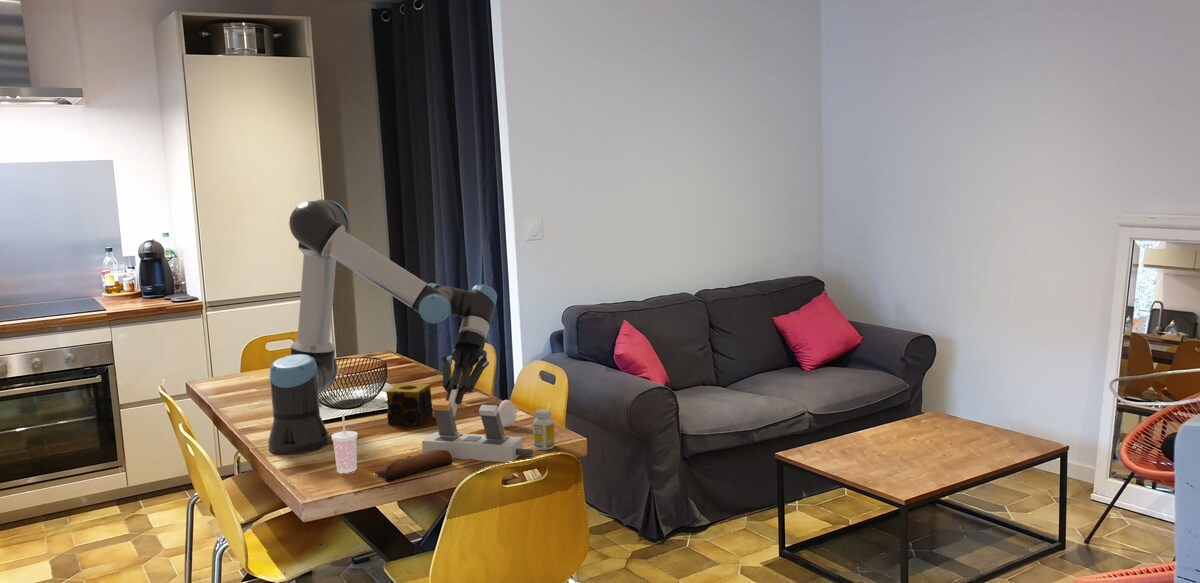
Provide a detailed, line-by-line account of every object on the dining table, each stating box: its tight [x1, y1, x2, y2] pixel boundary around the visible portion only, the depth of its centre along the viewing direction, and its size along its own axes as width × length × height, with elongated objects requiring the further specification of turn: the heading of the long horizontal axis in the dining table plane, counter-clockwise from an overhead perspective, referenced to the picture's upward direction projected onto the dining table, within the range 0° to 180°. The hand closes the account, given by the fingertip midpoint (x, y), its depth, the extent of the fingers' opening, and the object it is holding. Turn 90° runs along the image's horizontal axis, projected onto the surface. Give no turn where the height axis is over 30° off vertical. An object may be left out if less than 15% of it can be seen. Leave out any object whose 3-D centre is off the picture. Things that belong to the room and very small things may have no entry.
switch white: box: [478, 404, 507, 440], centre depth 224 cm, size 2×5×10 cm, turn 73°
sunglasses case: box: [373, 450, 453, 482], centre depth 218 cm, size 18×7×7 cm
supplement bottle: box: [532, 408, 555, 451], centre depth 233 cm, size 5×5×10 cm
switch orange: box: [432, 399, 460, 437], centre depth 228 cm, size 2×5×10 cm, turn 73°
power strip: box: [421, 431, 534, 463], centre depth 228 cm, size 28×8×4 cm, turn 73°
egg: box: [498, 399, 517, 428], centre depth 252 cm, size 5×5×8 cm
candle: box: [385, 383, 434, 427], centre depth 261 cm, size 10×10×10 cm
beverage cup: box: [331, 413, 358, 474], centre depth 218 cm, size 6×6×14 cm
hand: (449, 414), depth 230 cm, fingers closed
